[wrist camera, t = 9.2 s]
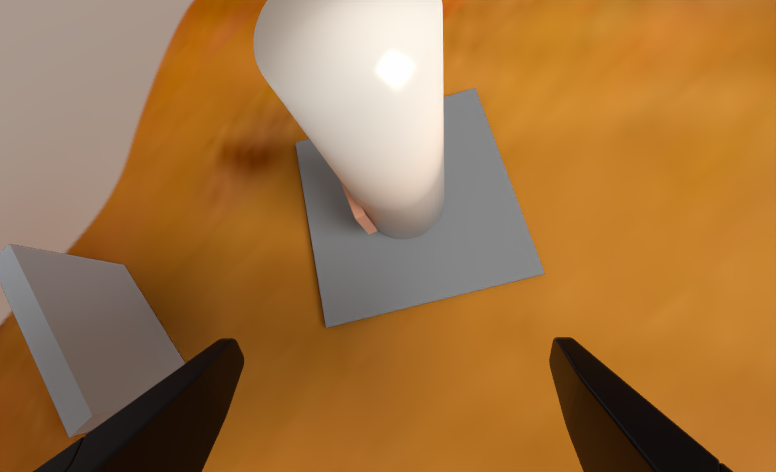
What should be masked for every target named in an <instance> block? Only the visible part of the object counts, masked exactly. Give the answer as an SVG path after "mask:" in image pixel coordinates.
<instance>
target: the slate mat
mask: <svg viewBox="0 0 776 472" xmlns="http://www.w3.org/2000/svg"><path fill="white" fill-rule="evenodd" d="M443 111H444V209H443V212H442V215H441V217H440V219H439V220H438V222H437V223H436V224H435V226H434V227H433V228H432V229H430V230H429V231H428V232H426V233H425V234H423V235H421V236H419V237H416V238H412V239H395V238H391V237H389V236H386V235H384V234H383V233H381V232H380V231H379V230H377V231H376V232H374V233H372V234H370V235H369V234H368V233H367V232H366V231H365V229H364V228H363V227H362V226H361V225H360V224H359V223H358V221H357V220H356V219H355V217H354V214H353V212H352V209H351V207H350V204H349V202H348V199H347V197H346V194H345V192H344V189H343V187H342V184H341V181H340V179H339V178H338V177H337V175H336V174H335V172H334V171H333V170H332V168H331V167H330V166H329V164H328V163H327V162H326V160H325V159H324V158H323V156H322V155H321V154H320V152H319V151H318V150H317V148H316V147H315V145H314V144H313V143H312V141H311V140H310V139H307V140H303V141H300V142H297V143H295V144H296V150H297V156H298V162H299V168H300V174H301V180H302V186H303V192H304V198H305V204H306V210H307V216H308V222H309V228H310V234H311V240H312V246H313V252H314V258H315V264H316V270H317V276H318V282H319V288H320V294H321V300H322V306H323V312H324V318H325V324H326V328H328V327H333V326H337V325H341V324H345V323H349V322H353V321H357V320H361V319H365V318H369V317H373V316H377V315H381V314H385V313H389V312H393V311H397V310H401V309H405V308H409V307H413V306H418V305H422V304H426V303H430V302H434V301H438V300H442V299H446V298H450V297H454V296H458V295H462V294H466V293H470V292H474V291H478V290H482V289H486V288H490V287H494V286H499V285H503V284H507V283H511V282H515V281H519V280H523V279H527V278H531V277H535V276H539V275H543V274H545V273H544V270H543V268H542V265H541V262H540V260H539V257H538V254H537V252H536V249H535V246H534V244H533V241H532V238H531V236H530V233H529V230H528V228H527V225H526V222H525V220H524V217H523V214H522V212H521V209H520V206H519V204H518V201H517V198H516V196H515V193H514V190H513V188H512V185H511V182H510V180H509V177H508V174H507V172H506V169H505V166H504V164H503V161H502V158H501V156H500V153H499V150H498V148H497V145H496V142H495V140H494V137H493V134H492V132H491V129H490V126H489V124H488V121H487V118H486V116H485V113H484V110H483V108H482V105H481V102H480V100H479V97H478V94H477V92H476V89H475V88H473V89H470V90H467V91H463V92H460V93H457V94H454V95H450V96H447V97H444V98H443Z"/></svg>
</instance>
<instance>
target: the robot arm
mask: <svg viewBox="0 0 776 472" xmlns="http://www.w3.org/2000/svg"><path fill="white" fill-rule="evenodd" d="M549 362H550V368H551V372H552V376H553V380H554V383H555V387H556V391H557V394H558V398H559V402H560V405H561V409H562V413H563V417H564V420H565V423H566V427H567V430H568V432H569V435H570V438H571V440H572V443H573V446H574V448H575V451H576V453H577V456H578V458H579V461H580V464H581V466H582V469H583V471H584V472H733V471H732V470H730V469H729V468H728V467H727V466H726V465H724V464H722V463H719V460H718V459H717V458H716V457H715V456H713V455H712V454H711V453H710V452H709V451H707V450H706V449H705V448H704V447H703V446H701V445H700V444H699V443H698V442H697V441H695V440H694V439H693V438H692V437H691V436H689V435H688V434H687V433H686V432H685V431H683V430H682V429H681V428H680V427H679V426H677V425H676V424H675V423H674V422H673V421H671V420H670V419H669V418H668V417H667V416H665V415H664V414H663V413H662V412H661V411H659V410H658V409H657V408H656V407H655V406H653V405H652V404H651V403H650V402H649V401H647V400H646V399H645V398H644V397H643V396H641V395H640V394H639V393H638V392H637V391H635V390H634V389H633V388H632V387H631V386H629V385H628V384H627V383H626V382H625V381H623V380H622V379H621V378H620V377H619V376H617V375H616V374H615V373H614V372H613V371H611V370H610V369H609V368H608V367H607V366H605V365H604V364H603V363H602V362H601V361H599V360H598V359H597V358H596V357H595V356H593V355H592V354H591V353H590V352H589V351H587V350H586V349H585V348H584V347H583V346H581V345H580V344H579V343H578V342H577V341H575V340H574V339H573V338H570V337H556V338H554V340H553V343H552V349H551V354H550V359H549ZM243 365H244V356H243V354H242V352H241V349H240V347H239V345H238V343H237V341H236V340H235V339H233V338H222V339H219V340H218V341H216V342H215V343H213V344H212V345H211V346H209V347H208V348H206V349H205V350H204V351H202V352H201V353H199V354H198V355H197V356H195V357H194V358H192V359H191V360H190V361H188V362H187V363H185V364H184V365H183V366H181V367H180V368H178V369H177V370H176V371H174V372H173V373H171V374H170V375H169V376H167V377H166V378H164V379H163V380H162V381H160V382H159V383H157V384H156V385H155V386H153V387H152V388H150V389H149V390H148V391H146V392H145V393H143V394H142V395H141V396H139V397H138V398H136V399H135V400H134V401H132V402H131V403H129V404H128V405H127V406H125V407H124V408H122V409H121V410H120V411H118V412H117V413H115V414H114V415H113V416H111V417H110V418H108V419H107V420H106V421H104V422H103V423H101V424H100V425H99V426H97V427H96V428H94V429H93V430H92V431H90V432H89V433H87V434H86V435H85V437H82V438H80V439H79V440H77V441H76V442H75V443H73V444H72V445H70V446H69V447H68V448H66V449H65V450H63V451H62V452H61V453H59V454H58V455H56V456H55V457H53V458H52V459H50V460H49V461H48V462H46V463H45V464H43V465H42V466H40V467H39V468H38V469H36V470H35V471H33V472H202V470H203V468H204V465H205V463H206V461H207V459H208V456H209V454H210V452H211V450H212V447H213V445H214V443H215V441H216V438H217V436H218V434H219V432H220V429H221V427H222V425H223V423H224V420H225V418H226V415H227V413H228V410H229V407H230V404H231V401H232V398H233V395H234V392H235V389H236V386H237V383H238V381H239V378H240V375H241V372H242V369H243Z"/></svg>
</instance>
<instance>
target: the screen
mask: <svg viewBox="0 0 776 472" xmlns="http://www.w3.org/2000/svg"><path fill="white" fill-rule="evenodd" d="M0 284H1V286H2V289H3V291H4V293H5V295H6V297H7V300H8V302H9V304H10V307H11V309H12V311H13V313H14V316H15V318H16V320H17V322H18V325H19V327H20V329H21V331H22V333H23V336H24V338H25V340H26V342H27V345H28V347H29V349H30V351H31V354H32V356H33V358H34V360H35V363H36V365H37V367H38V369H39V372H40V374H41V376H42V378H43V380H44V383H45V385H46V387H47V389H48V392H49V394H50V396H51V398H52V401H53V403H54V405H55V407H56V410H57V412H58V414H59V416H60V419H61V421H62V423H63V425H64V428H65V430H66V432H67V434H68V436H69V438H70V437H73V436H76V435H80V434H83V433H86V432H89V431H92V430H93V429H94V428H96V427H97V426H99V425H100V424H101V423H103V422H104V421H106V420H107V419H108V418H110V417H111V416H113V415H114V414H115V413H117V412H118V411H120V410H121V409H122V408H124V407H125V406H127V405H128V404H129V403H131V402H132V401H134V400H135V399H136V398H138V397H139V396H141V395H142V394H143V393H145V392H146V391H148V390H149V389H150V388H152V387H153V386H155V385H156V384H157V383H159V382H160V381H162V380H163V379H164V378H166V377H167V376H169V375H170V374H171V373H173V372H174V371H176V370H177V369H178V368H180V367H181V366H183V365H184V364H185V362H184V361H183V359H182V357H181V356H180V354H179V352H178V351H177V349H176V348H175V346H174V344H173V343H172V341H171V339H170V338H169V336H168V335H167V333H166V331H165V330H164V328H163V327H162V325H161V323H160V322H159V320H158V318H157V317H156V315H155V314H154V312H153V310H152V309H151V307H150V305H149V304H148V302H147V301H146V299H145V297H144V296H143V294H142V293H141V291H140V289H139V288H138V286H137V284H136V283H135V281H134V280H133V278H132V276H131V275H130V273H129V272H128V270H127V268H126V267H125V265H123V264H117V263H112V262H106V261H101V260H95V259H90V258H84V257H79V256H73V255H68V254H63V253H57V252H52V251H46V250H41V249H35V248H29V247H24V246H19V245H13V244H9V245H8V246H7V247H5V248H4V249H3V250H2V251H1V252H0Z"/></svg>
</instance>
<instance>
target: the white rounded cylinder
mask: <svg viewBox="0 0 776 472" xmlns="http://www.w3.org/2000/svg"><path fill="white" fill-rule="evenodd" d="M253 46H254V55H255V59H256V63H257V65H258V67H259V70H260V72H261V73H262V75H263V76H264V78H265V79H266V81H267V82H268V83H269V85H270V86H271V87H272V89H273V90H274V91H275V93H276V94H277V96H278V97H279V98H280V100H281V101H282V102H283V104H284V105H285V106H286V108H287V109H288V110H289V112H290V113H291V114H292V116H293V117H294V118H295V120H296V121H297V123H298V124H299V125H300V127H301V128H302V129H303V131H304V132H305V133H306V135H307V136H308V137H309V139H310V140H311V141H312V143H313V144H314V145H315V147H316V148H317V150H318V151H319V152H320V154H321V155H322V156H323V158H324V159H325V160H326V162H327V163H328V164H329V166H330V167H331V168H332V170H333V171H334V172H335V174H336V175H337V177H338V178H339V179H340V181H341V184H342V187H343V189H344V192H345V194H346V197H347V199H348V202H349V204H350V207H351V209H352V212H353V214H354V217H355V219H356V220H357V221H358V223H359V224H360V225H361V226H362V227H363V228H364V229H365V231H366V232H367V233H368V234H369V235H370V234H372V233H374V232H376V231H377V230H379V231H380V232H381V233H383V234H384V235H386V236H389V237H391V238H395V239H412V238H416V237H419V236H421V235H423V234H425V233H426V232H428V231H429V230H430V229H432V228H433V227H434V226H435V224H436V223H437V222H438V220H439V219H440V217H441V215H442V212H443V209H444V111H443V15H442V0H267V2H266V3H265V5H264V7H263V9H262V11H261V13H260V15H259V18H258V21H257V23H256V27H255V32H254V42H253Z"/></svg>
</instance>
